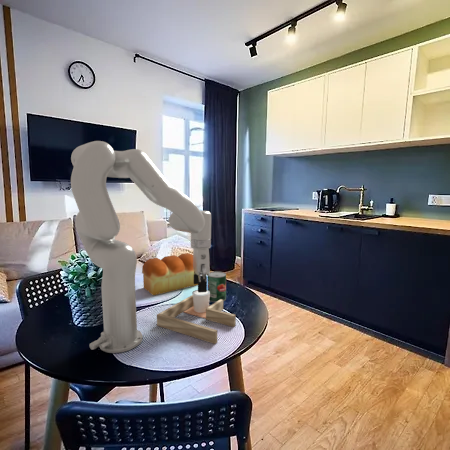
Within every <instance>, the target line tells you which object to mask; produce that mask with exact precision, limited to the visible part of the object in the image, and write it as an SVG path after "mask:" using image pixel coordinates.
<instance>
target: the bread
mask: <svg viewBox="0 0 450 450" xmlns="http://www.w3.org/2000/svg"><path fill="white" fill-rule="evenodd" d="M141 268H142V270H141V271H142V272H141V274H142V275H143V277H142V278H143V289H145V291H147V292H148V291H149V292H148V293H149V294H151V295H152V296H157V295H161V294H165V293H169V292H175V291H178V290H183V289H186V288H190V287H195V286H198V284H194V269H193V254H192V253H189V252H186V253H181V254H179V255H177V256H176V255H169V256H164V257H162V258H161V259H160V258H158V257H154V258H148V259H147V260H146V261H145V262H144V263H143V264H142V267H141Z"/></svg>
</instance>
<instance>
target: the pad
mask: <svg viewBox="0 0 450 450" xmlns="http://www.w3.org/2000/svg"><path fill="white" fill-rule="evenodd" d="M211 305H212V304H211ZM211 305H210V304H209V307H210V306H211ZM183 314H187V315H189V316H190V315H191V316H194V317H198V318H202V319H205V320H206V312H202V313H200V312H196V311H194V306H192V307H191V308H189V309H187V310H186V311H184V312H183Z"/></svg>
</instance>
